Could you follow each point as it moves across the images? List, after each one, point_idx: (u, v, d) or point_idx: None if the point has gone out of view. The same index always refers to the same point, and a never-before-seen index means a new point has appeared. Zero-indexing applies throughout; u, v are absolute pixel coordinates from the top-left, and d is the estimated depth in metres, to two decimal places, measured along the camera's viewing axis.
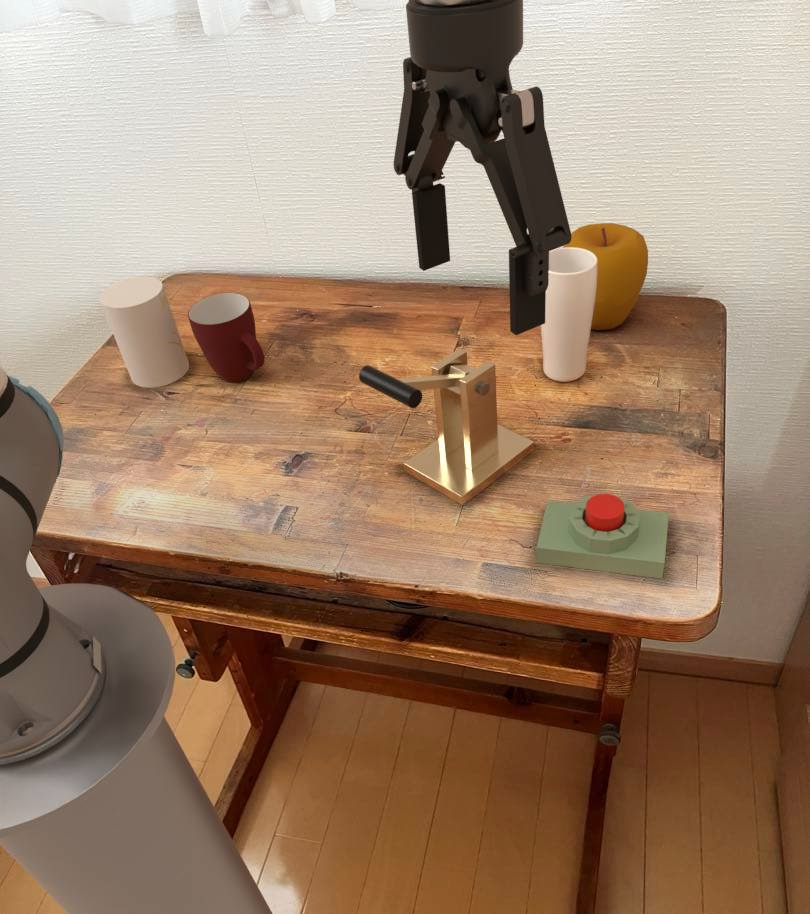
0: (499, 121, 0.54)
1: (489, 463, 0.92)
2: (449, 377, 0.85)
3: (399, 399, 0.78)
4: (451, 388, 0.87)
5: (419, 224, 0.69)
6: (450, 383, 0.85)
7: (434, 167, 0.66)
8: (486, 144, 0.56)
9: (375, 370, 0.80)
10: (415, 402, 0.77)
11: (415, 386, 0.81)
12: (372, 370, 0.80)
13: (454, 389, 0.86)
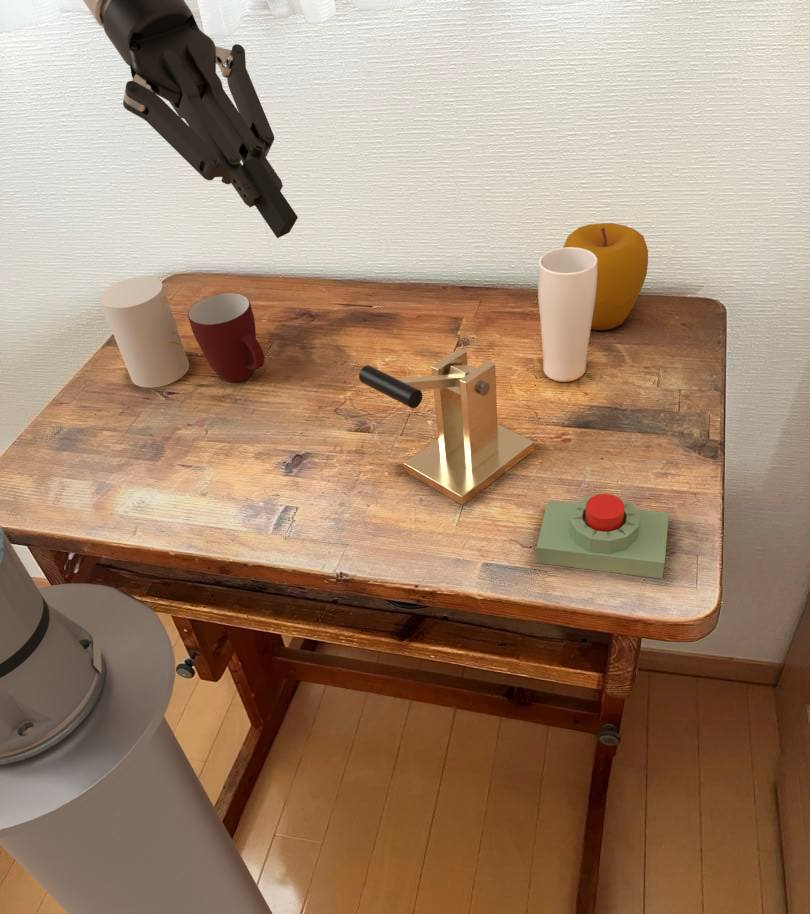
0: None
1: (489, 463, 0.92)
2: (449, 377, 0.85)
3: (399, 399, 0.78)
4: (451, 388, 0.87)
5: None
6: (450, 383, 0.85)
7: (235, 137, 0.76)
8: (178, 109, 0.76)
9: (375, 370, 0.80)
10: (415, 402, 0.77)
11: (415, 386, 0.81)
12: (372, 370, 0.80)
13: (454, 389, 0.86)
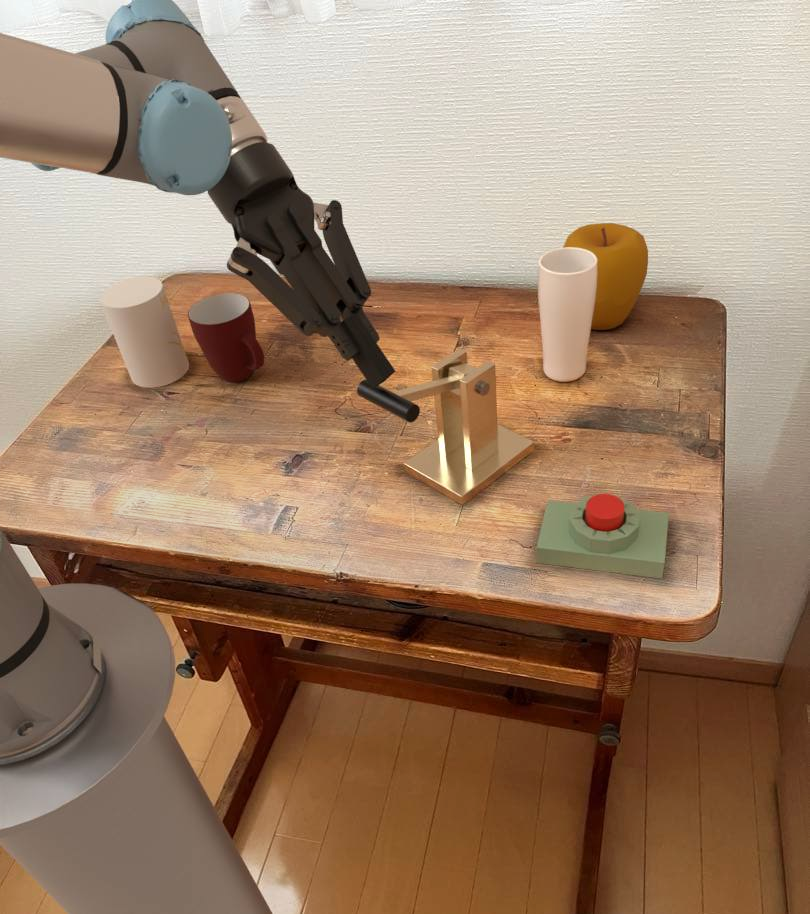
0: None
1: (489, 463, 0.92)
2: (448, 381, 0.85)
3: (397, 414, 0.78)
4: (451, 390, 0.87)
5: None
6: (449, 386, 0.85)
7: (333, 292, 0.78)
8: (278, 266, 0.78)
9: None
10: (413, 416, 0.78)
11: (413, 396, 0.82)
12: (369, 385, 0.81)
13: (454, 391, 0.86)
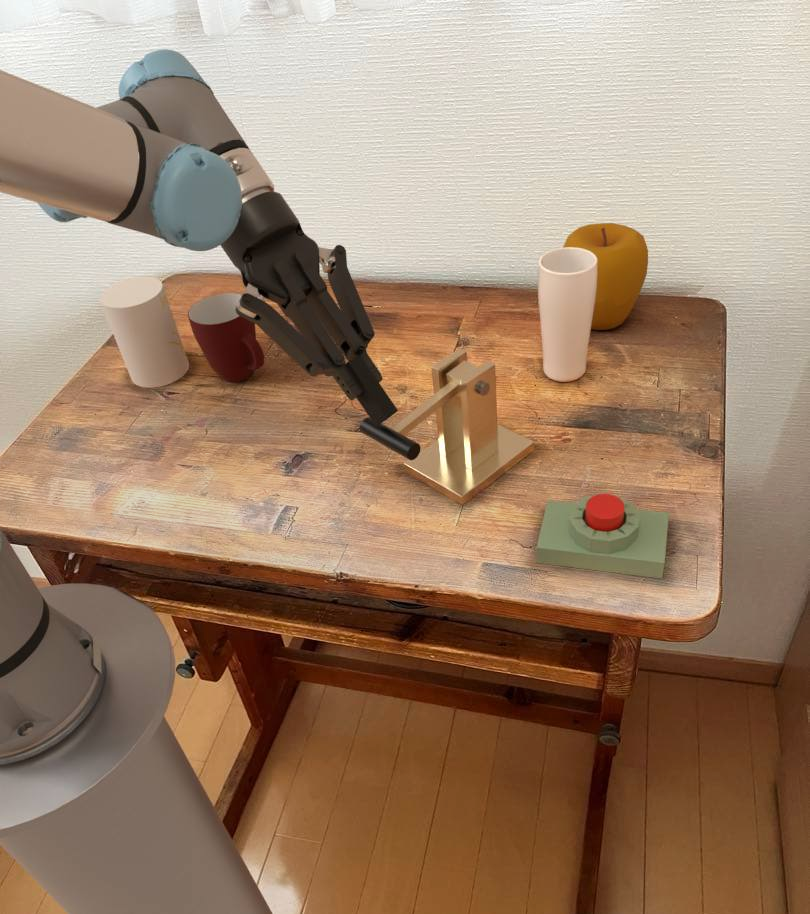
0: None
1: (489, 463, 0.92)
2: (447, 391, 0.85)
3: (400, 454, 0.81)
4: None
5: None
6: (449, 396, 0.86)
7: (338, 334, 0.81)
8: (284, 309, 0.80)
9: (372, 425, 0.83)
10: (415, 454, 0.81)
11: (414, 423, 0.84)
12: (369, 425, 0.83)
13: (457, 394, 0.87)
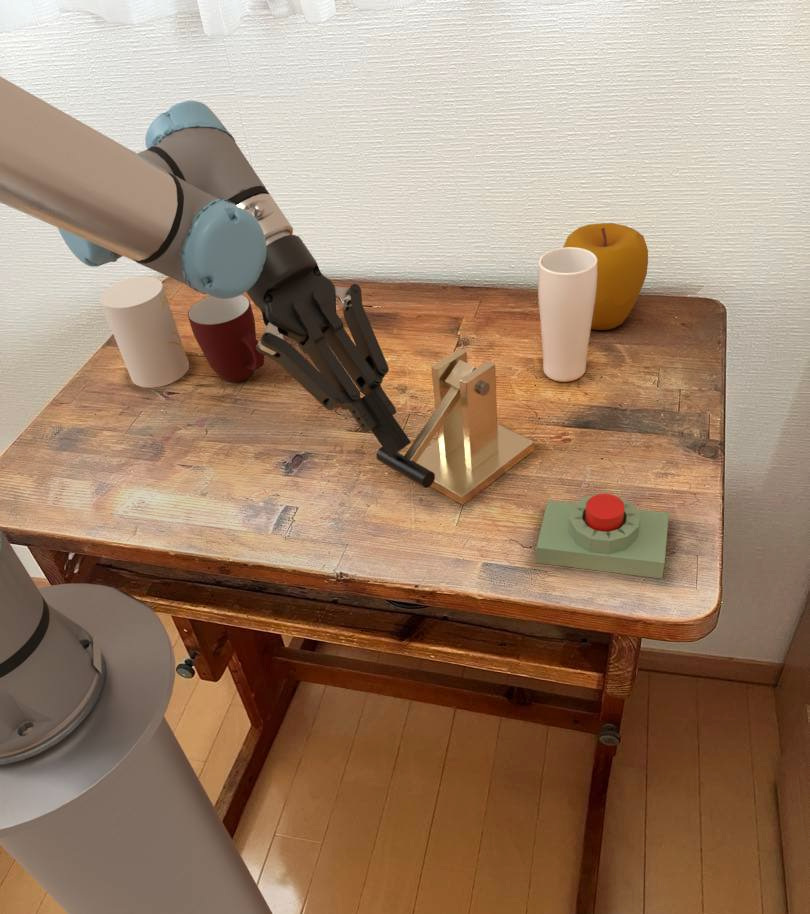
0: None
1: (489, 463, 0.92)
2: (449, 400, 0.86)
3: (417, 483, 0.86)
4: None
5: None
6: (453, 403, 0.87)
7: (354, 370, 0.84)
8: (302, 346, 0.84)
9: (386, 456, 0.87)
10: (430, 481, 0.85)
11: (425, 444, 0.86)
12: (384, 457, 0.87)
13: None
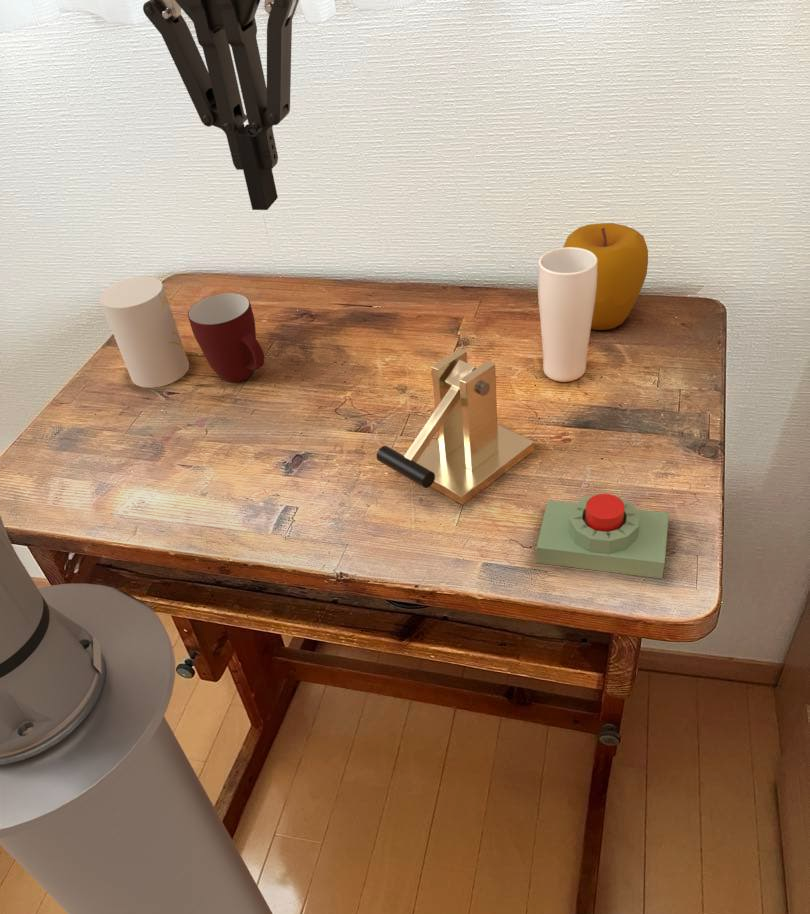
0: None
1: (489, 463, 0.92)
2: (449, 400, 0.86)
3: (417, 483, 0.86)
4: None
5: None
6: (453, 403, 0.87)
7: None
8: None
9: (386, 456, 0.87)
10: (430, 481, 0.85)
11: (425, 444, 0.86)
12: (384, 457, 0.87)
13: None
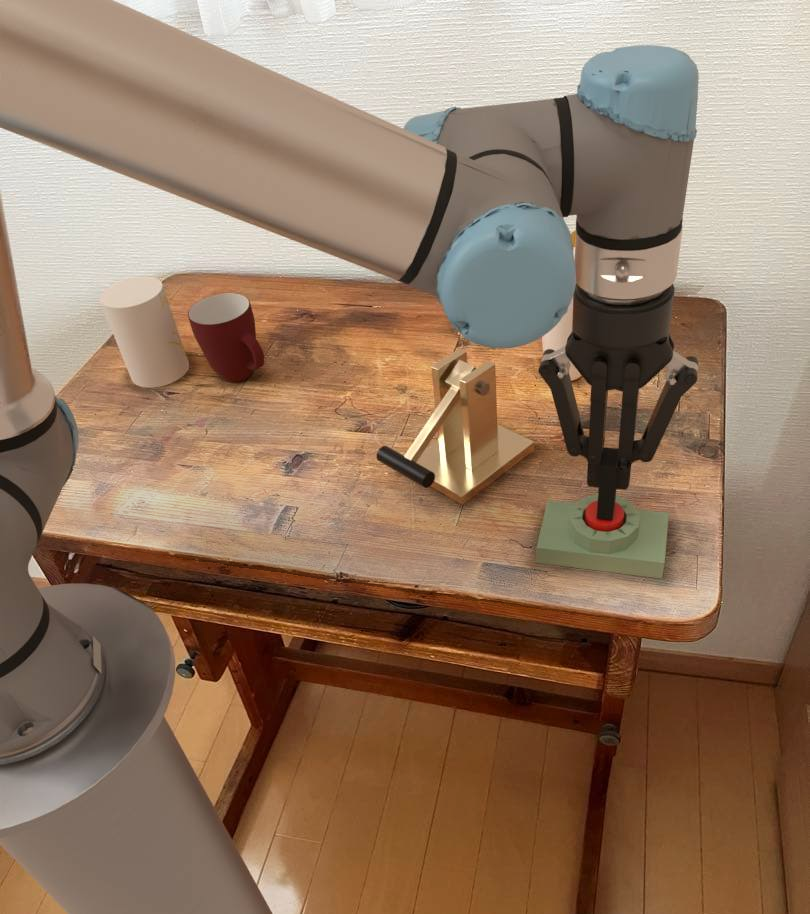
0: None
1: (489, 463, 0.92)
2: (449, 400, 0.86)
3: (417, 483, 0.86)
4: None
5: None
6: (453, 403, 0.87)
7: None
8: None
9: (386, 456, 0.87)
10: (430, 481, 0.85)
11: (425, 444, 0.86)
12: (384, 457, 0.87)
13: None
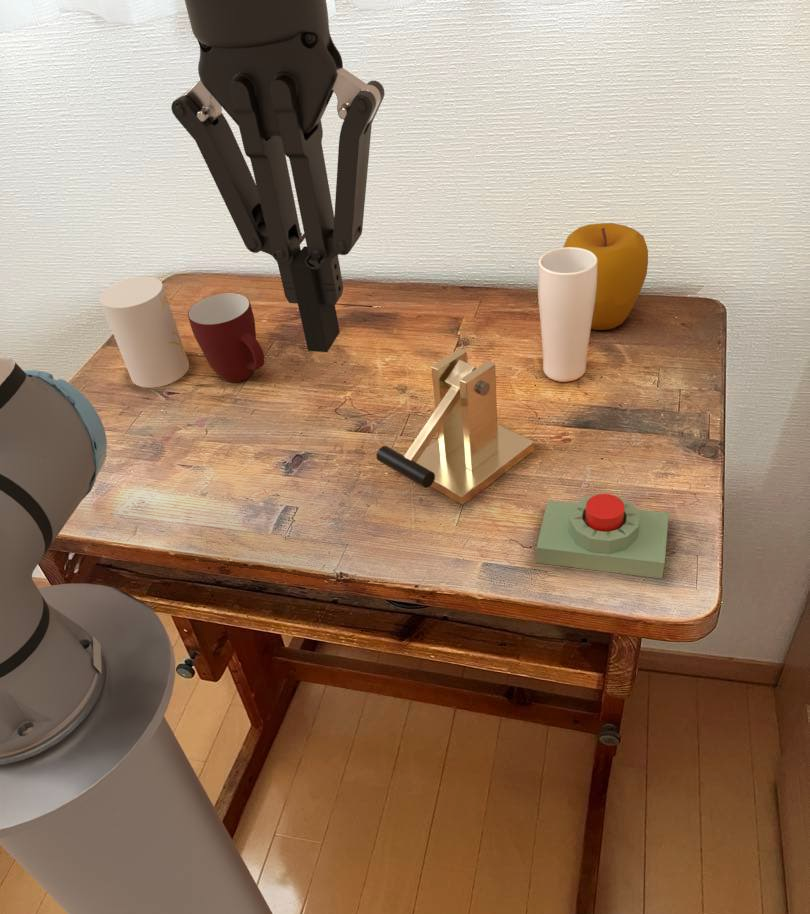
0: None
1: (489, 463, 0.92)
2: (449, 400, 0.86)
3: (417, 483, 0.86)
4: None
5: None
6: (453, 403, 0.87)
7: None
8: None
9: (386, 456, 0.87)
10: (430, 481, 0.85)
11: (425, 444, 0.86)
12: (384, 457, 0.87)
13: None
